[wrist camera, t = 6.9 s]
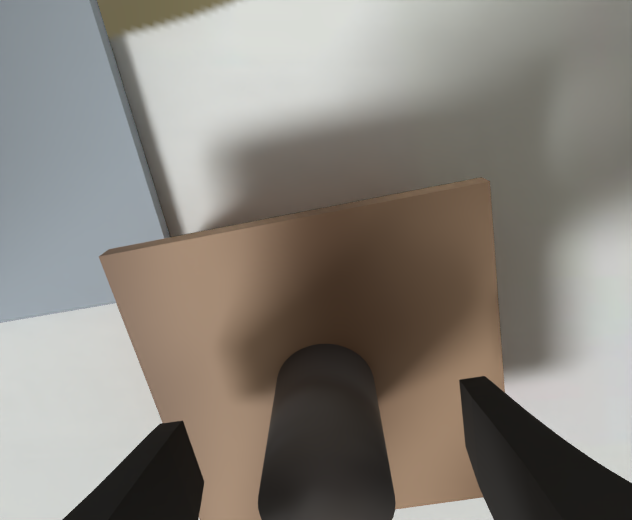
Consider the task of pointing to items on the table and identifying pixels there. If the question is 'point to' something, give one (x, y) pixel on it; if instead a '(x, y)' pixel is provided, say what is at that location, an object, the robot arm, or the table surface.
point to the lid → (322, 351)
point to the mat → (65, 160)
